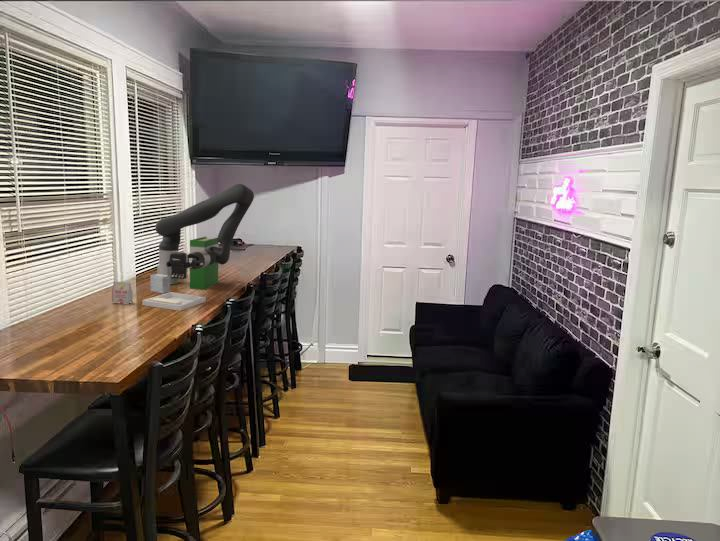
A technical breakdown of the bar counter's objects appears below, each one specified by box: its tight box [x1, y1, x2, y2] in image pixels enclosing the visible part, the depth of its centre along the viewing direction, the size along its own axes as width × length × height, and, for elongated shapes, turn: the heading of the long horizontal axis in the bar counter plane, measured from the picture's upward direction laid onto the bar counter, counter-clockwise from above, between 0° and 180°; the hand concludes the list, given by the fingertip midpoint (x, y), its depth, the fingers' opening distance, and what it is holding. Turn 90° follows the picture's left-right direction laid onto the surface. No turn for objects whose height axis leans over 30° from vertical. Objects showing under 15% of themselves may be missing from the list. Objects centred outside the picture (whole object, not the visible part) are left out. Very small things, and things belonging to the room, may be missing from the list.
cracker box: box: [151, 298, 182, 305], centre depth 203 cm, size 12×4×2 cm, turn 74°
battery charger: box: [170, 251, 189, 280], centre depth 208 cm, size 7×4×11 cm, turn 81°
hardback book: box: [189, 236, 220, 291], centre depth 248 cm, size 18×7×24 cm, turn 174°
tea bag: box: [111, 281, 134, 305], centre depth 203 cm, size 4×7×10 cm, turn 87°
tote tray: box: [142, 291, 207, 312], centre depth 209 cm, size 18×18×3 cm
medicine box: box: [149, 273, 171, 294], centre depth 228 cm, size 8×4×9 cm, turn 65°
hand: (175, 265), depth 206 cm, fingers closed on battery charger, 7 cm apart
